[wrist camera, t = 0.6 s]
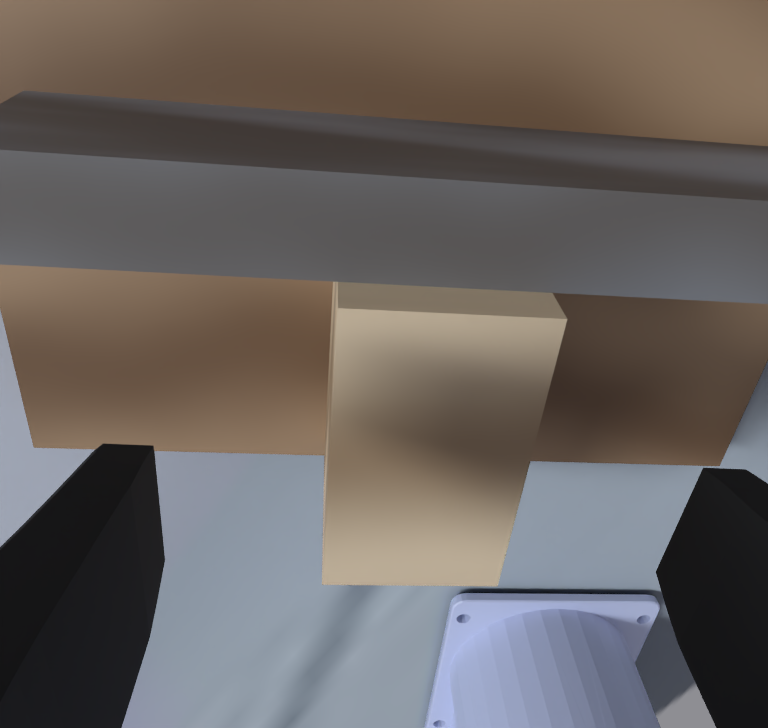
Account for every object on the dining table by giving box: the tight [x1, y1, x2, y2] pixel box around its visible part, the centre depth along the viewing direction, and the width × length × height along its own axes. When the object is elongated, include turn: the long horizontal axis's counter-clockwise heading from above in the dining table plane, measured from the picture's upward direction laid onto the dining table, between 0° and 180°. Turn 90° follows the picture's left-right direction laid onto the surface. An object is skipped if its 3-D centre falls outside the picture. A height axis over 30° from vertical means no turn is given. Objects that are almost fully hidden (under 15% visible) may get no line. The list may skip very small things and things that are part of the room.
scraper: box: [0, 91, 768, 586], centre depth 15 cm, size 9×17×5 cm, turn 85°
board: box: [0, 0, 768, 466], centre depth 16 cm, size 18×20×2 cm
